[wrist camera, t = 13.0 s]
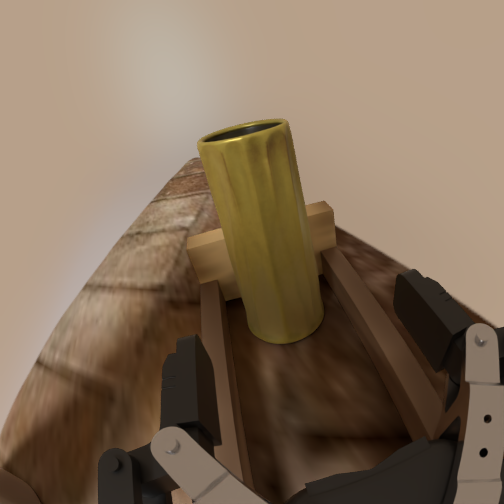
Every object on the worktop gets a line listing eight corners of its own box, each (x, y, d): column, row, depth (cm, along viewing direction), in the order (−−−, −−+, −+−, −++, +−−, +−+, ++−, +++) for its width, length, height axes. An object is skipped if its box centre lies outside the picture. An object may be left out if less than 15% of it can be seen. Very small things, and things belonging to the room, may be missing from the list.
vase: (263, 287, 26) (220, 126, 19) (331, 292, 24) (306, 112, 16) (235, 338, 22) (166, 153, 14) (314, 350, 19) (277, 134, 12)
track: (236, 545, 9) (189, 547, 6) (208, 291, 27) (187, 237, 24) (454, 471, 9) (506, 433, 6) (330, 257, 28) (324, 200, 24)
